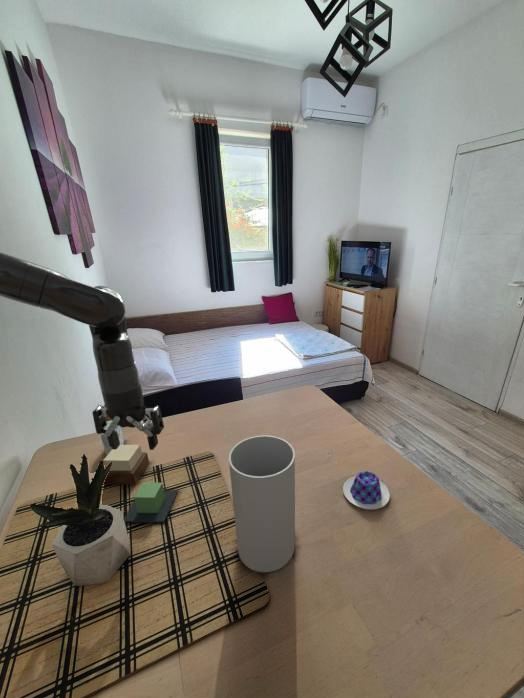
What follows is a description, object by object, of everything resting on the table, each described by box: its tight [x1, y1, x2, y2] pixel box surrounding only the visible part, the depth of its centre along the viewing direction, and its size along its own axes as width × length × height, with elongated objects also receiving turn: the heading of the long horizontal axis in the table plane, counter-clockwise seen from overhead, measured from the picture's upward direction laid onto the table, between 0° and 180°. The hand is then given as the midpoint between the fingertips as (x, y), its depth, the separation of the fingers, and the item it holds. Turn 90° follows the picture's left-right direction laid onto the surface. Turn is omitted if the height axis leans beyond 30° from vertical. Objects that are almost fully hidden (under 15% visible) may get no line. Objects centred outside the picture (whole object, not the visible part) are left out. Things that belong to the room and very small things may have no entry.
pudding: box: [342, 470, 391, 510], centre depth 85 cm, size 12×12×5 cm
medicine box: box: [100, 419, 125, 456], centre depth 102 cm, size 8×4×9 cm, turn 22°
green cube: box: [133, 482, 165, 513], centre depth 81 cm, size 5×5×5 cm
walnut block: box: [103, 451, 150, 486], centre depth 93 cm, size 9×9×4 cm
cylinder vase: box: [228, 434, 296, 573], centre depth 67 cm, size 12×12×25 cm
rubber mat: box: [123, 490, 179, 524], centre depth 82 cm, size 10×10×1 cm
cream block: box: [102, 444, 143, 471], centre depth 91 cm, size 7×7×4 cm
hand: (134, 447), depth 75 cm, fingers open, 8 cm apart
